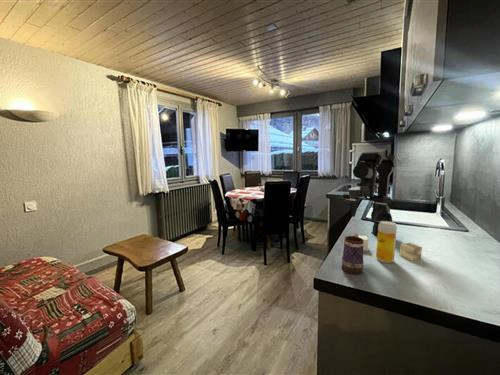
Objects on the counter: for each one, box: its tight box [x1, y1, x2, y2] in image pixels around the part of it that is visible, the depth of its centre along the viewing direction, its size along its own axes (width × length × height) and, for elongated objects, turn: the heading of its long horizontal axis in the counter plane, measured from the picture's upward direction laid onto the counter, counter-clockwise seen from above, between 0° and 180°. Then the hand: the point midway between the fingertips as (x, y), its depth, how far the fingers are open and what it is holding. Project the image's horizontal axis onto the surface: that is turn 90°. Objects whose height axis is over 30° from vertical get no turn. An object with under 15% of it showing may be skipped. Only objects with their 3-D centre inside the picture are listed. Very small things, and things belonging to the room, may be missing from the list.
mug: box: [341, 233, 365, 276], centre depth 83 cm, size 10×7×12 cm
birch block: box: [399, 242, 423, 261], centre depth 93 cm, size 5×5×5 cm
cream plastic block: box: [358, 234, 369, 252], centre depth 102 cm, size 5×5×5 cm
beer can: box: [375, 221, 398, 264], centre depth 89 cm, size 6×6×15 cm
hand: (362, 218), depth 96 cm, fingers open, 9 cm apart
